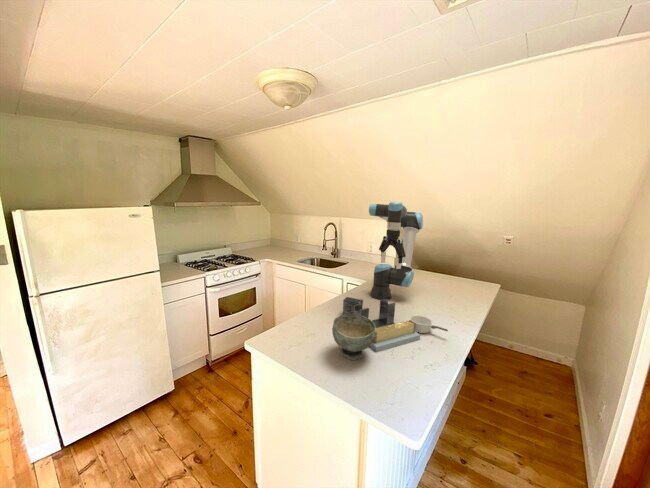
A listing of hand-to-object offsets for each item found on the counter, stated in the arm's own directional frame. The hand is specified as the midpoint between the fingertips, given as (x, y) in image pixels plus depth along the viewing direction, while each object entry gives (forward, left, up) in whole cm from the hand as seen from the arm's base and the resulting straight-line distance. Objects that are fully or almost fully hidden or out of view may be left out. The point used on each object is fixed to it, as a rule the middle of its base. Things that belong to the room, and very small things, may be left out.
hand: (390, 265), depth 157 cm
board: (+23, -15, -32) cm, 42 cm away
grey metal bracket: (+6, -14, -32) cm, 35 cm away
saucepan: (+24, +8, -32) cm, 41 cm away
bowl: (+25, -40, -32) cm, 57 cm away
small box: (-8, -19, -32) cm, 38 cm away
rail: (+23, -15, -29) cm, 40 cm away
